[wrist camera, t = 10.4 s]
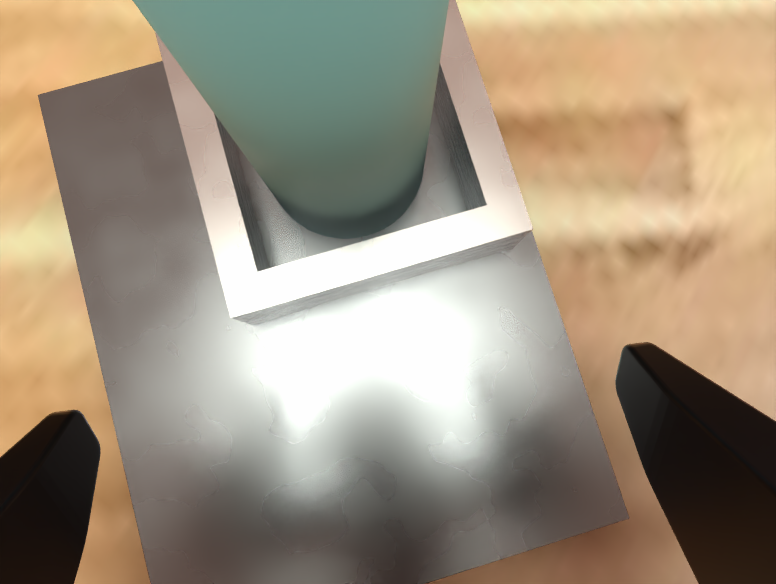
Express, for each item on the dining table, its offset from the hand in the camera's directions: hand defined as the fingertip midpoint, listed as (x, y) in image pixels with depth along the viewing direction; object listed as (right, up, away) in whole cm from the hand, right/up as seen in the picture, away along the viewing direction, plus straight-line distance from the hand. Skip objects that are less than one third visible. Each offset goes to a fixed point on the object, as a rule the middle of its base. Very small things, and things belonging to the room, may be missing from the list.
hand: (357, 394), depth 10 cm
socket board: (-2, +1, +10) cm, 10 cm away
